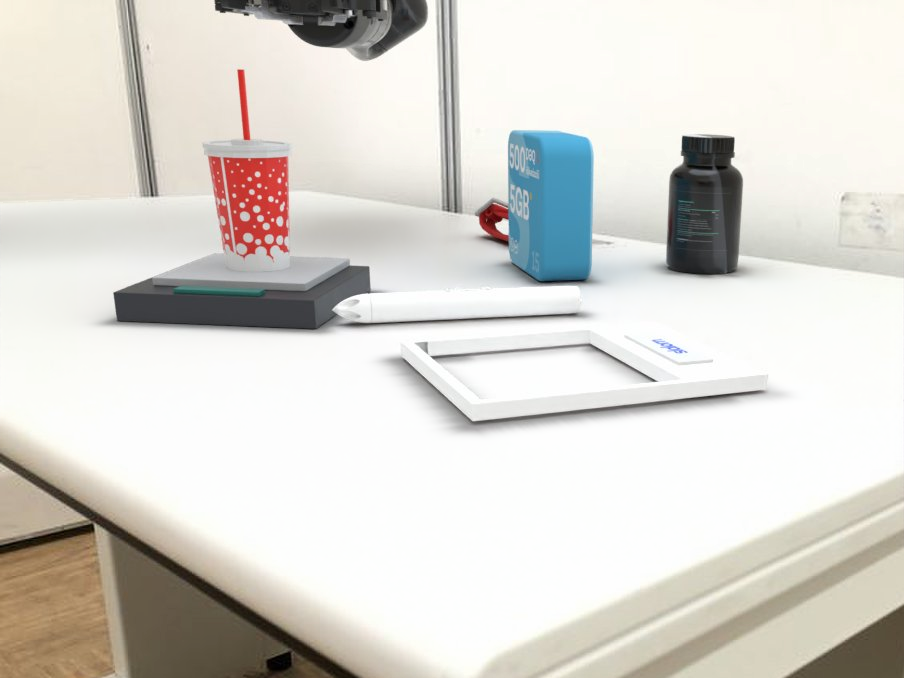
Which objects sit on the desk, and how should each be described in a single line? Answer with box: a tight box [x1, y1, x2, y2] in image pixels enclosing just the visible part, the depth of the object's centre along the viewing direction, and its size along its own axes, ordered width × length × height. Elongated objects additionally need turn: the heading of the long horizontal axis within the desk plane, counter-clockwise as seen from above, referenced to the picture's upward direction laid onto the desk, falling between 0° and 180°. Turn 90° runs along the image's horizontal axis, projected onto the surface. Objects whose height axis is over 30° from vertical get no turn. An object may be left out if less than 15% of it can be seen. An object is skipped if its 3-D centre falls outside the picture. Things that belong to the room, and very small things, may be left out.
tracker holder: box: [474, 197, 509, 243], centre depth 115 cm, size 12×4×10 cm
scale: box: [112, 252, 372, 330], centre depth 83 cm, size 14×14×3 cm
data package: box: [507, 129, 595, 282], centre depth 98 cm, size 12×4×12 cm, turn 20°
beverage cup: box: [201, 68, 292, 272], centre depth 81 cm, size 6×6×14 cm
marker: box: [332, 285, 582, 324], centre depth 80 cm, size 18×2×2 cm, turn 111°
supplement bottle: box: [665, 133, 744, 275], centre depth 102 cm, size 7×7×12 cm
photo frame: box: [399, 321, 769, 422], centre depth 67 cm, size 15×1×18 cm
